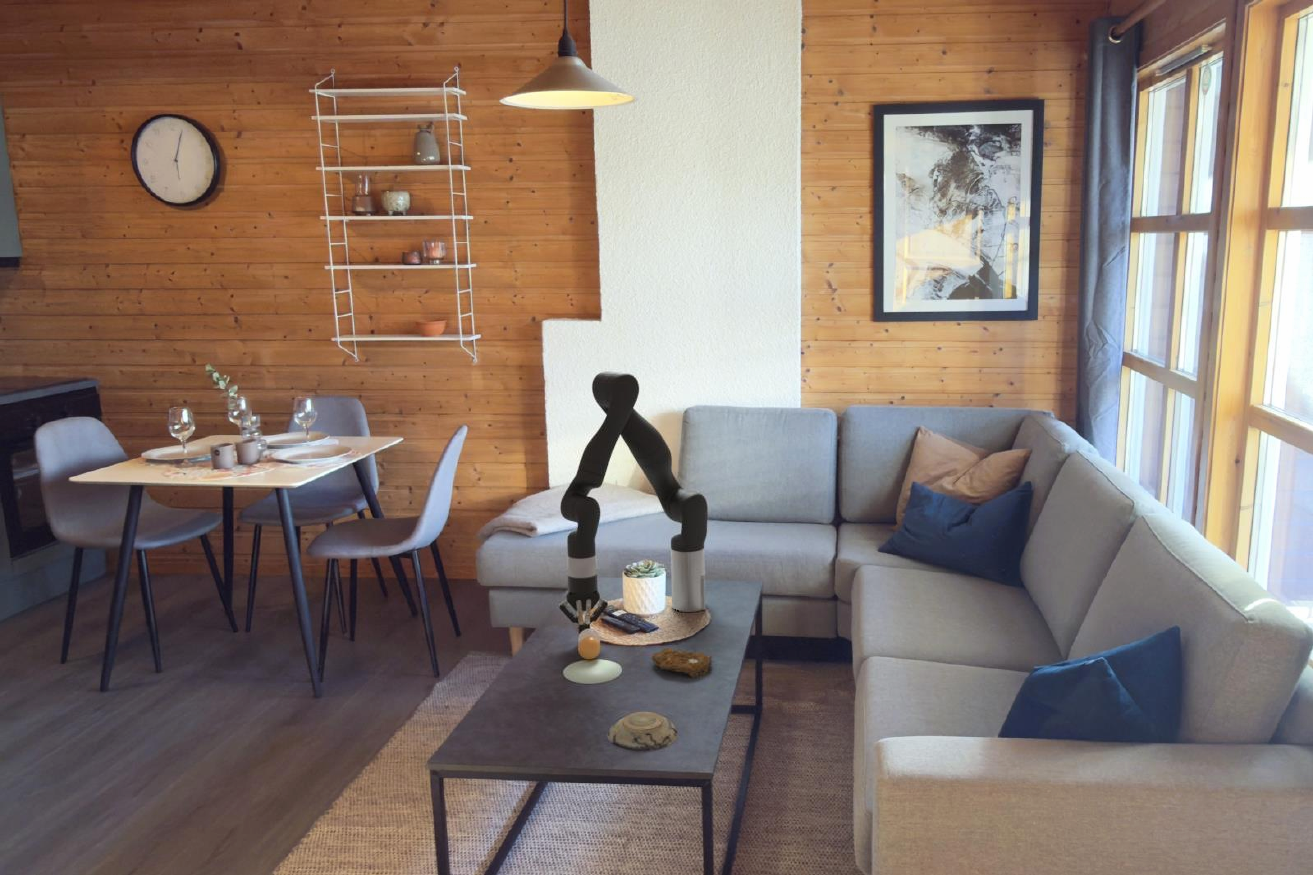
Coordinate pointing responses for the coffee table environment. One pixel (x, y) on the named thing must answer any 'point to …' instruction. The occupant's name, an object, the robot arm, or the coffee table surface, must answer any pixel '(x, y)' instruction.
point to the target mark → (592, 671)
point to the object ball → (589, 648)
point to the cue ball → (589, 634)
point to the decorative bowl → (643, 732)
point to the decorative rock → (683, 662)
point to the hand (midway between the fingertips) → (584, 636)
